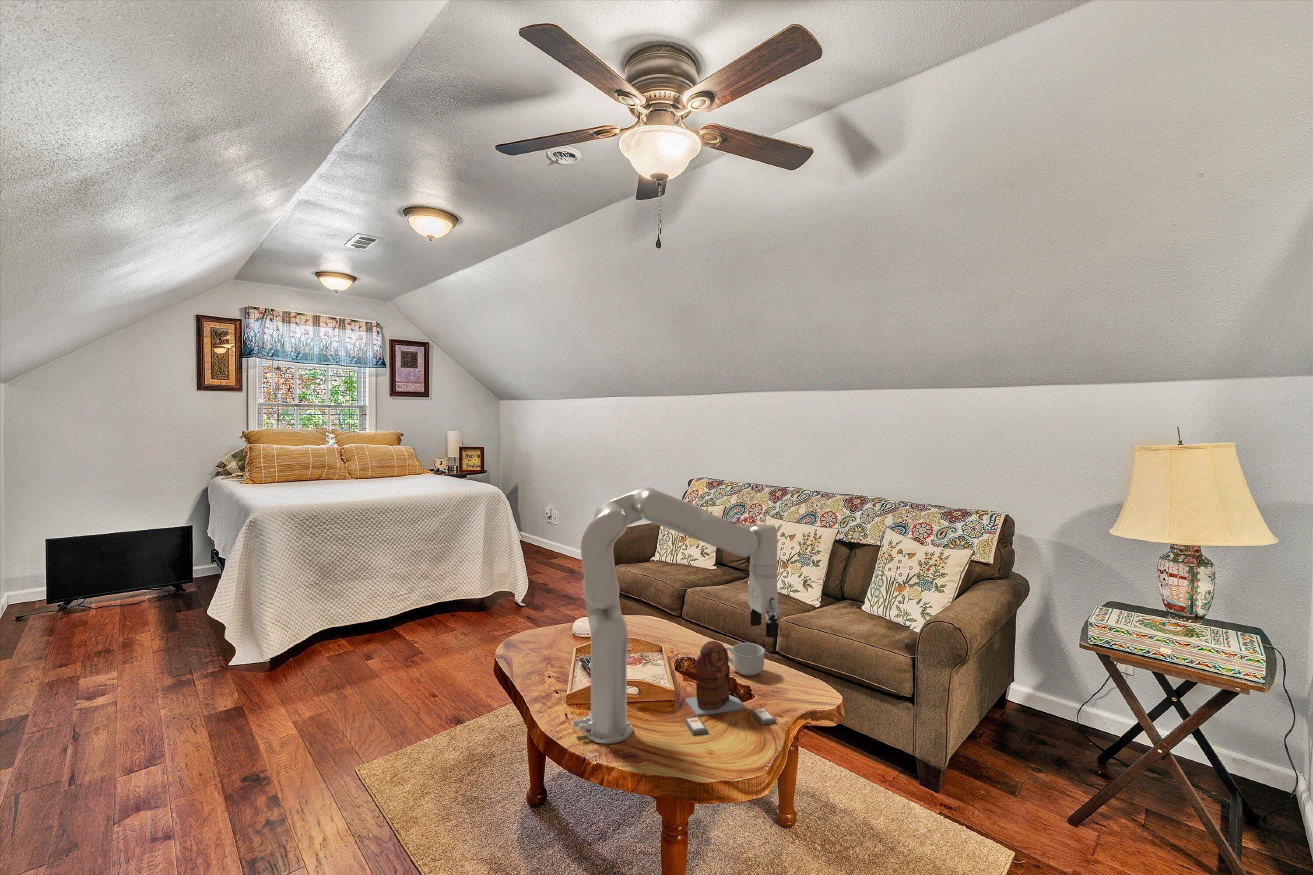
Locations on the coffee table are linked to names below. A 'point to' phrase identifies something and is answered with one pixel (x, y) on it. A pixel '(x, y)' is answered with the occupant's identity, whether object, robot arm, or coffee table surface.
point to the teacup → (747, 658)
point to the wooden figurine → (712, 676)
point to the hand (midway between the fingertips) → (763, 630)
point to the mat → (730, 705)
